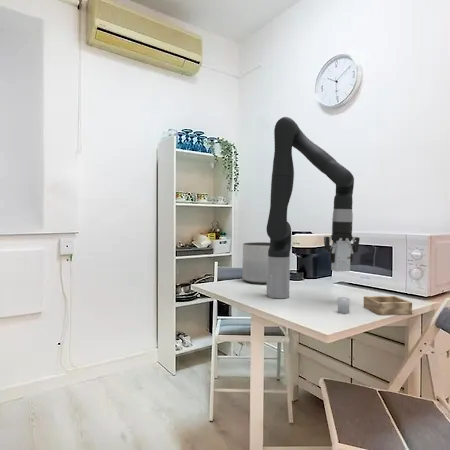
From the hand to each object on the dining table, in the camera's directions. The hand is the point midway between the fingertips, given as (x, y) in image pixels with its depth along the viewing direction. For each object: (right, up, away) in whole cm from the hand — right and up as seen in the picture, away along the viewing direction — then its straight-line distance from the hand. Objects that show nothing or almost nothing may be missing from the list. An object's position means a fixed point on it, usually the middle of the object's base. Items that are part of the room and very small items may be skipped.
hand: (340, 262), depth 133 cm
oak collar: (+13, -16, -11) cm, 24 cm away
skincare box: (0, -3, 0) cm, 3 cm away
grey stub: (-4, -16, -13) cm, 21 cm away
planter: (-25, -15, +47) cm, 56 cm away
